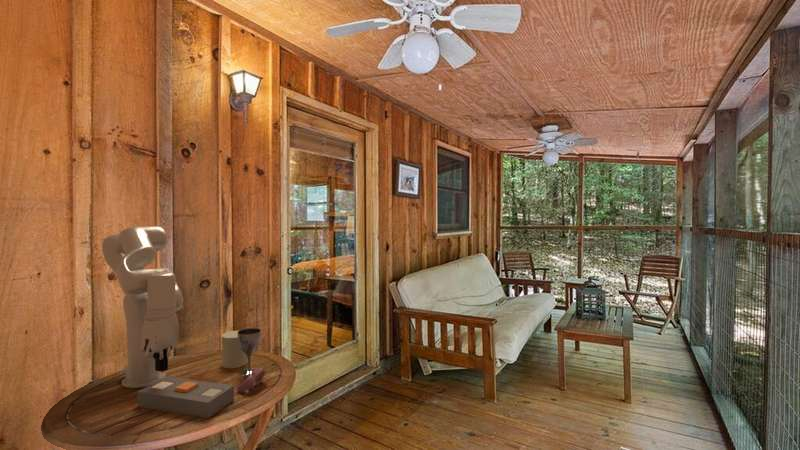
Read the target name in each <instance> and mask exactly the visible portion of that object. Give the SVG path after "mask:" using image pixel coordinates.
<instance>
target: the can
mask: <svg viewBox="0 0 800 450" xmlns="http://www.w3.org/2000/svg"><path fill="white" fill-rule="evenodd" d="M238 331H239V330H232V331H231V330H230V331H226V332H224V333H222V334H221V358H222V359H221V367H222V368H225V369H237V368H242V367H244V366H246V365H248V358H247V355H246V354H245V353H244V352H243V351H242V350H241V349H240V347H239V344H238V337H237V333H238Z"/></svg>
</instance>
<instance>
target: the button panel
mask: <svg viewBox="0 0 800 450" xmlns="http://www.w3.org/2000/svg"><path fill="white" fill-rule="evenodd" d="M162 381H164V382H171V383H174V384H172V385H170V386H168V387H166V388H165V389H163V390H162V389H155V388H151V387H152V386H154V385H156V384H158V383H160V382H162ZM186 381H187V382H194V383H198V387H197V388H195V389H194V390H192V391H190V392H189V393H181V392H175V387H177V386H179V385H181V384H183V383H184V382H186ZM210 388H213V389H220V390H223V391H222V392H220V393H219V394H217V395H215V396H214V397H208V396H201V394H202V393H204V392H205V391H207V390H209V389H210ZM233 401H235V386H234V385H231V384H226V383H225V384H224V383H218V382H210V381H203V380H196V379H187V378H183V377H176V376H166V377H165V378H164V379H162V380H160V381H158V382H156V383H154V384H152V385H150V386H146V387H143V388H141V389H140V390H138V391H137V407H139V408H144V409H145V408H147V409H150V410H151V409H152V410H156V411H157V410H158V411H162V412H170V413H176V414H181V415H188V416H192V417H193V416H194V417H198V418H199V417H200V418H203V419H204V418H205V419H209V418H211V417H212V416H214V415H215V414H216V413H218V412H219V411H220V410H222V409H223V408H225V407H226V406H228V405H229V404H230V403H232V402H233Z"/></svg>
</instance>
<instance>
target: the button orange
mask: <svg viewBox="0 0 800 450" xmlns="http://www.w3.org/2000/svg"><path fill="white" fill-rule="evenodd" d="M197 387H198V383H194V382H187V381H186V382H184V383H183V384H181V385H179V386H177V387H175V392H181V393H189V392H190V391H192V390H194V389H195V388H197Z"/></svg>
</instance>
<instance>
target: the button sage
mask: <svg viewBox="0 0 800 450" xmlns="http://www.w3.org/2000/svg"><path fill="white" fill-rule="evenodd" d="M222 391H223V390H220V389H213V388H210V389H209V390H207V391H205V392H204V393H202V394H201V396H208V397H214V396H215V395H217V394H219V393H220V392H222Z"/></svg>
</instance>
